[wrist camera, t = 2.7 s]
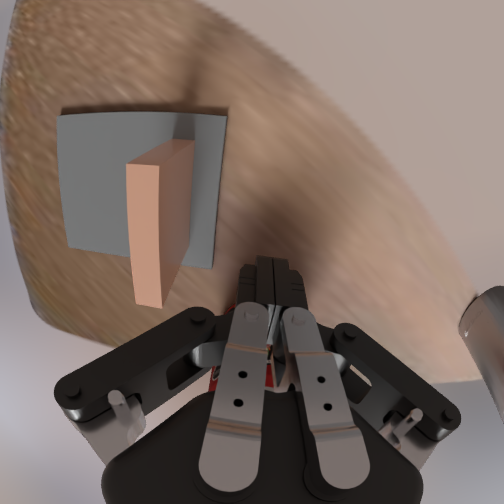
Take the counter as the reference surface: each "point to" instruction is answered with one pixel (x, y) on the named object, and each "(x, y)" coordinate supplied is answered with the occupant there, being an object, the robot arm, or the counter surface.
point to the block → (159, 217)
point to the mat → (114, 175)
